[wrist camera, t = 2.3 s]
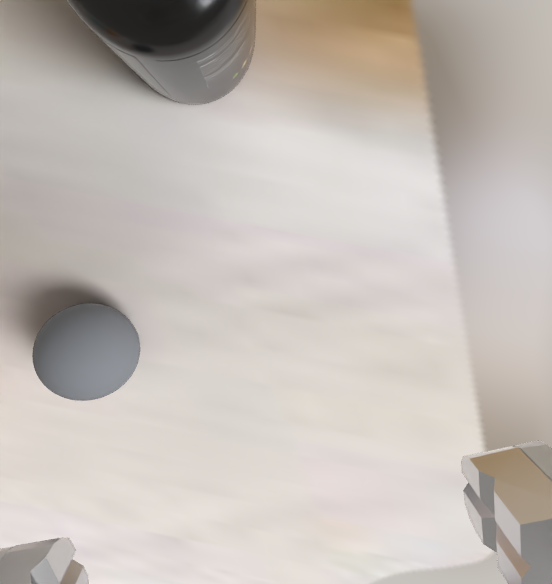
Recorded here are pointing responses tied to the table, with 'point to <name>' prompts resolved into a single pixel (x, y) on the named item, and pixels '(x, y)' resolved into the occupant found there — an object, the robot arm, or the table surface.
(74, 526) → the table surface
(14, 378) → the table surface
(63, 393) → the charcoal ball
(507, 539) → the robot arm
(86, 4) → the supplement bottle
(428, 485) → the table surface
